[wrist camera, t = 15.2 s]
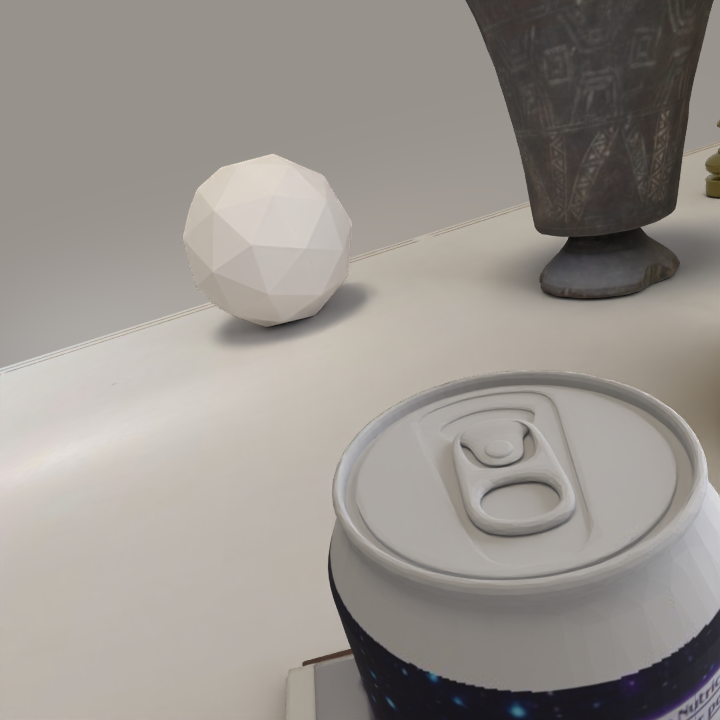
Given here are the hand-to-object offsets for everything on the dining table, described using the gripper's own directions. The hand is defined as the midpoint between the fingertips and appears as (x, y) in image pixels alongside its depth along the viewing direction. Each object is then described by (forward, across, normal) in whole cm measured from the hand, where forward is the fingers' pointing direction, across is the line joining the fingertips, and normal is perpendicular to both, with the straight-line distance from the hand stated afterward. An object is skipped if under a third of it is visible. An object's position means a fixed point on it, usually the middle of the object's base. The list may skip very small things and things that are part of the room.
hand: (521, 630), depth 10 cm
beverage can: (-1, 0, -8) cm, 8 cm away
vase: (+44, +25, -11) cm, 52 cm away
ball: (+59, -8, -11) cm, 61 cm away
